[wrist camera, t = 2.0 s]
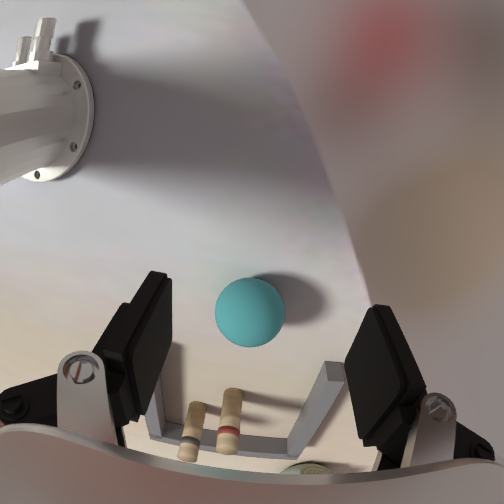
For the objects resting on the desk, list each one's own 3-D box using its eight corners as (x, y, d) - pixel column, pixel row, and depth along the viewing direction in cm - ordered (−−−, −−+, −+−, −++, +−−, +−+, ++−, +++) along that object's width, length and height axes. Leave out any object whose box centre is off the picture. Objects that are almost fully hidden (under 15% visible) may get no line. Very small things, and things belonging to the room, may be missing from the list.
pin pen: (140, 333, 32) (131, 351, 30) (340, 362, 33) (344, 381, 30) (154, 424, 42) (150, 439, 39) (296, 444, 42) (296, 459, 40)
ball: (223, 260, 27) (212, 299, 22) (289, 270, 28) (293, 311, 22) (217, 312, 30) (207, 355, 25) (277, 321, 30) (277, 365, 25)
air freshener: (269, 471, 48) (267, 514, 39) (290, 457, 45) (290, 505, 36) (315, 477, 50) (317, 517, 41) (339, 463, 46) (344, 507, 37)
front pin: (224, 386, 36) (215, 444, 28) (244, 389, 36) (239, 447, 28) (223, 397, 37) (214, 453, 29) (242, 400, 37) (236, 456, 29)
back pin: (189, 399, 37) (176, 452, 30) (207, 403, 38) (197, 456, 30) (189, 409, 39) (177, 460, 31) (206, 412, 39) (197, 463, 31)
